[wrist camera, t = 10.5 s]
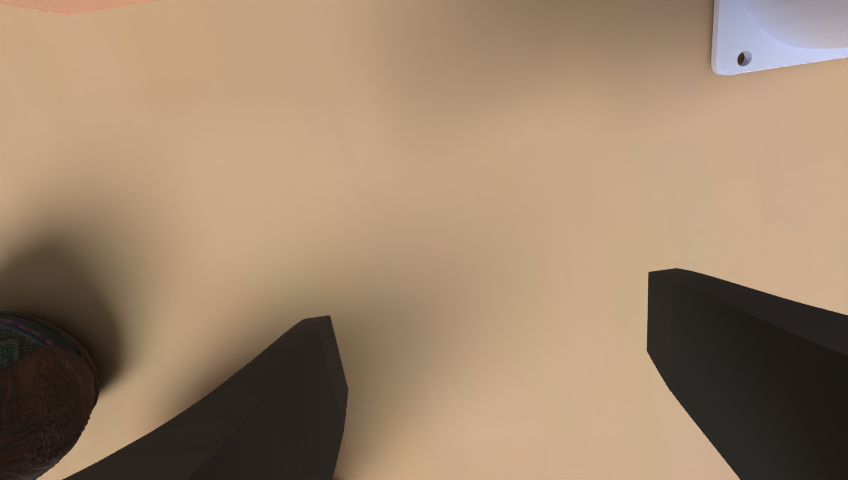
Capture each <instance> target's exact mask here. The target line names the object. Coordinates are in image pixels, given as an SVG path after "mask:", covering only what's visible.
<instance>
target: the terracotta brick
mask: <svg viewBox="0 0 848 480" xmlns="http://www.w3.org/2000/svg"><path fill="white" fill-rule="evenodd" d="M150 1H156V0H0V4H6V5H12V6H18V7H24V8H30V9H35V10H41V11H47V12H53V13H59V14H65V15H71V14H77V13H83V12H89V11H95V10H101V9H107V8H113V7H120V6H126V5H132V4H138V3H144V2H150Z"/></svg>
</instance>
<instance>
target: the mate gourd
mask: <svg viewBox="0 0 848 480" xmlns="http://www.w3.org/2000/svg"><path fill="white" fill-rule="evenodd" d="M98 395H99V383H98V375H97V370H96V367H95V364H94V362H93V361H92V359H91V357H90V355H89V353H88V352H87V350H86V349H85V348H84V347H83V346H82V345H81V344H80V343H79V342H78V341H77V340H76V339H75V338H74V337H73V336H72V335H70V334H69V333H67V332H66V331H64V330H63V329H62V328H59V327H57V326H55V325H53V324H51V323H49V322H47V321H45V320H42V319H40V318H37V317H33V316H30V315H25V314H20V313H15V312H8V311H3V312H2V311H0V480H36V479H37V478H38V477H40V476H42V475H43V473H45V472H47V471H48V470H49V469H50V468H52V467H54V466H55V464H57V463H58V462H59V461H60V460H61V459H62V458H63V457H64V456H65V455H66V454H67V453H68V452H69V451H70V450H71V449H72V448H73V447H74V445H75V444H76V443H77V441H78V439H79V437H80V436H81V433H82V431H84V429H85V426H86V425H87V423H88V420H89V419H90V414H91V413H92V410H93V408H94V407H95V405H96V403H97V399H98Z"/></svg>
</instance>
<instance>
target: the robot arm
mask: <svg viewBox="0 0 848 480" xmlns="http://www.w3.org/2000/svg"><path fill="white" fill-rule="evenodd" d="M741 52H743V53H744V56H745V59H744V62H743V63H742V64H741V65H739V64H738V62H737V58H738V55H739V54H740V53H741ZM845 57H848V0H715V5H714V21H713V38H712V54H711V67H712V70H713V71H714V73H716V74H718V75H733V74H739V73H746V72H753V71H759V70H766V69H773V68H779V67H786V66H792V65H799V64H806V63H812V62H819V61H825V60H832V59H839V58H845ZM647 352H648V354H649V355H650V357H651V359H652V361H653V363H654V364H655V366H656V368H657V370H658V372H659V373H660V375H661V377H662V378H663V380H664V381H665V383H666V385H667V386H668V388H669V389H670V391H671V392H672V393H673V395H674V396H675V397H676V399H677V400H678V401H679V403H680V404H681V405H682V406H683V408H684V409H685V410H686V412H687V413H688V414H689V415H690V417H691V418H692V419H693V420H694V422H695V423H696V424H697V426H698V427H699V428H700V429H701V431H702V432H703V433H704V434H705V436H706V437H707V438H708V439H709V441H710V442H711V443H712V444H713V446H714V447H715V448H716V449H717V451H718V452H719V453H720V454H721V456H722V457H723V458H724V459H725V461H726V462H727V463H728V465H729V466H730V467H731V468H732V470H733V471H734V472H735V473H736V475H737V476H738V477H739V478H740V480H848V315H844V314H840V313H836V312H833V311H829V310H825V309H821V308H817V307H814V306H810V305H806V304H802V303H799V302H795V301H792V300H788V299H785V298H781V297H778V296H775V295H771V294H768V293H765V292H761V291H758V290H755V289H751V288H748V287H745V286H742V285H738V284H735V283H732V282H728V281H725V280H722V279H718V278H715V277H712V276H708V275H705V274H701V273H697V272H693V271H689V270H684V269H678V268H675V269H667V270H660V271H653V272H649V276H648V323H647ZM347 396H348V387H347V383H346V379H345V375H344V371H343V367H342V363H341V359H340V354H339V350H338V346H337V342H336V338H335V334H334V330H333V326H332V322H331V317H330V316H322V317H315V318H308V319H303V320H302V321H300V322H299V323H297V324H296V325H294V326H293V327H292V328H291V329H289V330H288V331H287V332H286V333H284V334H283V335H282V336H281V337H280V338H278V339H277V340H276V341H275V342H274V343H273V344H271V345H270V346H269V347H268V348H267V349H265V350H264V351H263V352H262V353H261V354H259V355H258V356H257V357H256V358H255V359H253V360H252V361H251V362H250V363H248V364H247V365H246V366H245V367H243V368H242V369H241V370H240V371H238V372H237V373H236V374H234V375H233V376H232V377H230V378H229V379H228V380H227V381H225V382H224V383H223V384H221V385H220V386H219V387H217V388H216V389H215V390H213V391H212V392H211V393H210V394H208V395H207V396H205V397H204V398H203V399H201V400H200V401H198V402H197V403H195V404H194V405H192V406H191V407H190V408H188V409H187V410H185V411H184V412H182V413H180V414H179V415H177V416H176V417H174V418H173V419H171V420H170V421H168V422H166V423H165V424H163V425H162V426H160V427H159V428H157V429H155V430H154V431H152V432H150V433H149V434H147V435H145V436H143V437H141V438H140V439H138V440H136V441H134V442H132V443H131V444H129V445H127V446H125V447H124V448H122V449H120V450H118V451H116V452H115V453H113V454H111V455H109V456H107V457H106V458H104V459H102V460H100V461H99V462H97V463H95V464H93V465H91V466H89V467H87V468H85V469H83V470H81V471H79V472H77V473H75V474H73V475H71V476H69V477H67V478H65V479H63V480H332V478H333V474H334V470H335V466H336V461H337V457H338V453H339V449H340V445H341V440H342V436H343V432H344V425H345V416H346V407H347Z"/></svg>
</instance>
